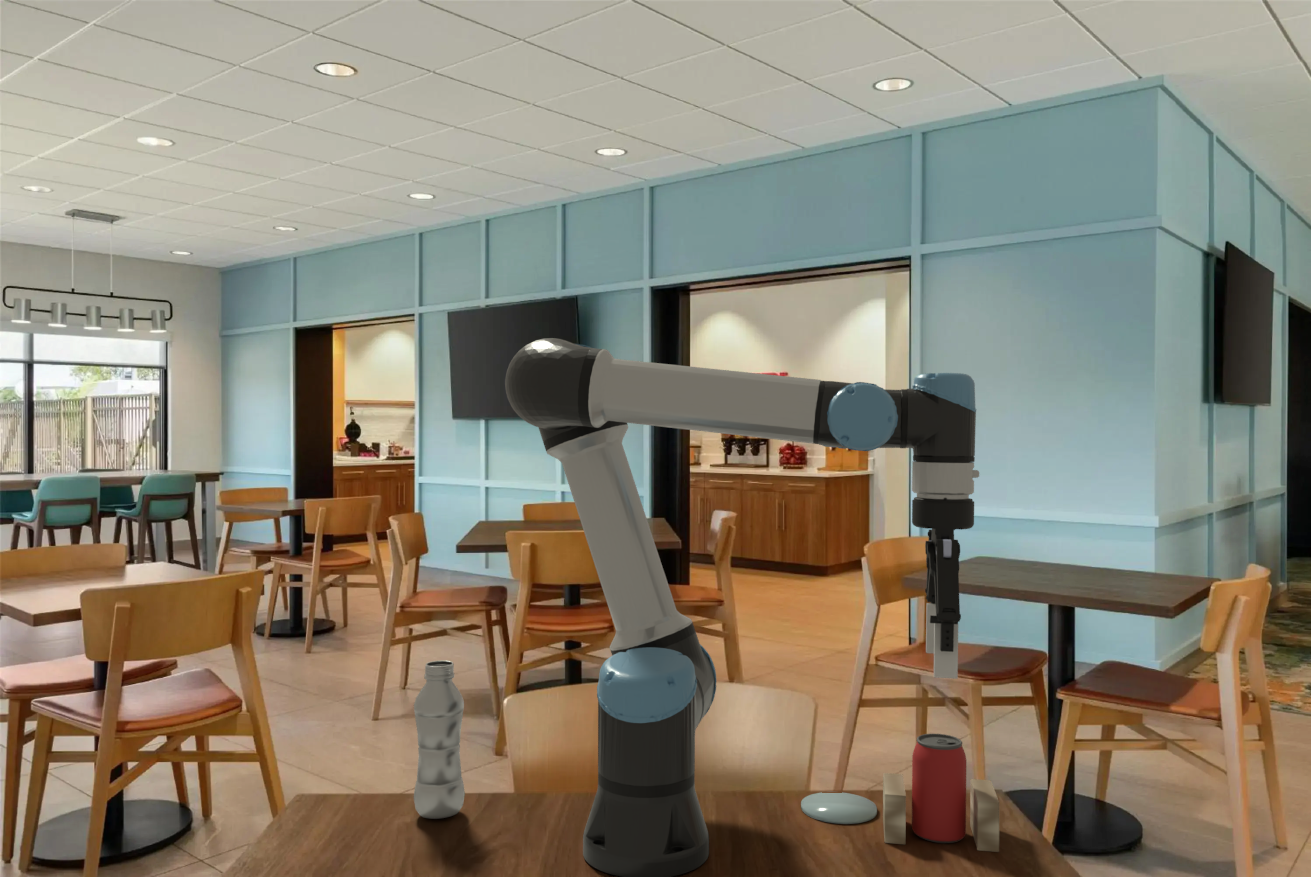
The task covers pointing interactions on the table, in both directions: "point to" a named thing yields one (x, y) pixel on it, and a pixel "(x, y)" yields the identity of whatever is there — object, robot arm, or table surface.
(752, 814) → the table surface
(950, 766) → the beer can
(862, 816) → the coaster
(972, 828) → the block
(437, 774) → the plastic bottle
